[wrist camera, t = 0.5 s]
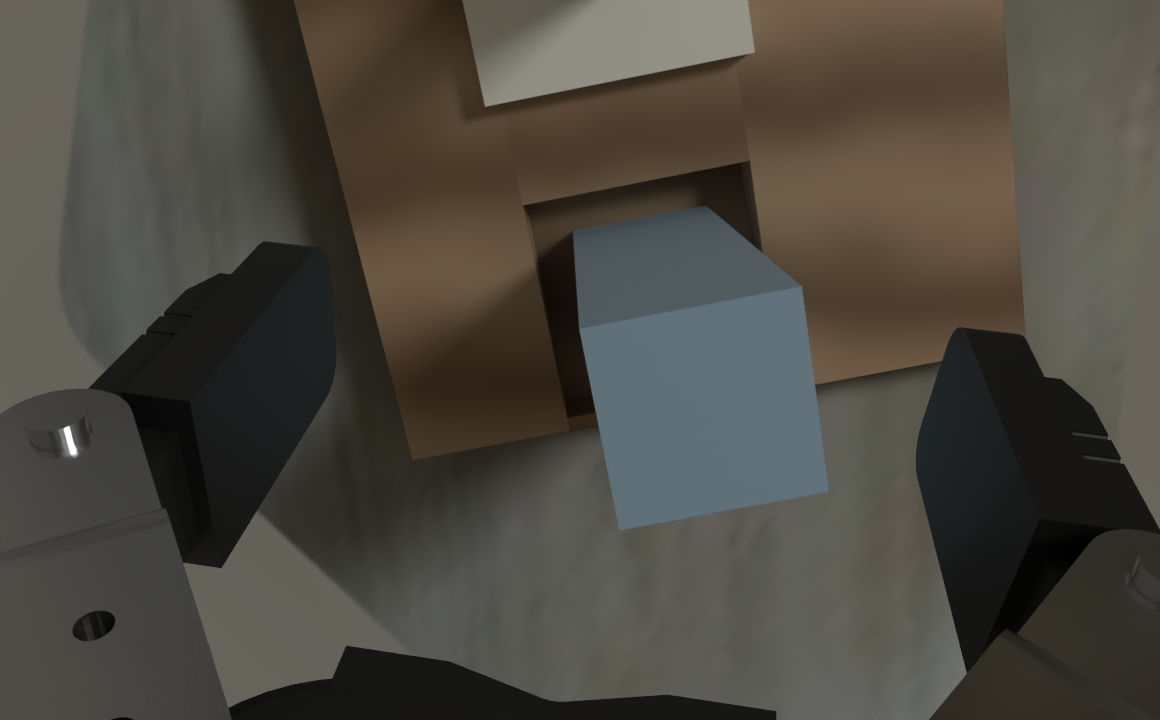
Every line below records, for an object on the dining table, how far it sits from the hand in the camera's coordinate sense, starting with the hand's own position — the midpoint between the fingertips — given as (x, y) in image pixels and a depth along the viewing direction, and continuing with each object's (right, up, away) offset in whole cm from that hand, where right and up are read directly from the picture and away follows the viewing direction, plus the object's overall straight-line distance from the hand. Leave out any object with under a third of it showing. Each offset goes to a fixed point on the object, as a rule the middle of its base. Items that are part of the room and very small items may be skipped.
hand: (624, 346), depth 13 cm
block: (+2, +3, +24) cm, 24 cm away
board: (+2, +9, +23) cm, 24 cm away
